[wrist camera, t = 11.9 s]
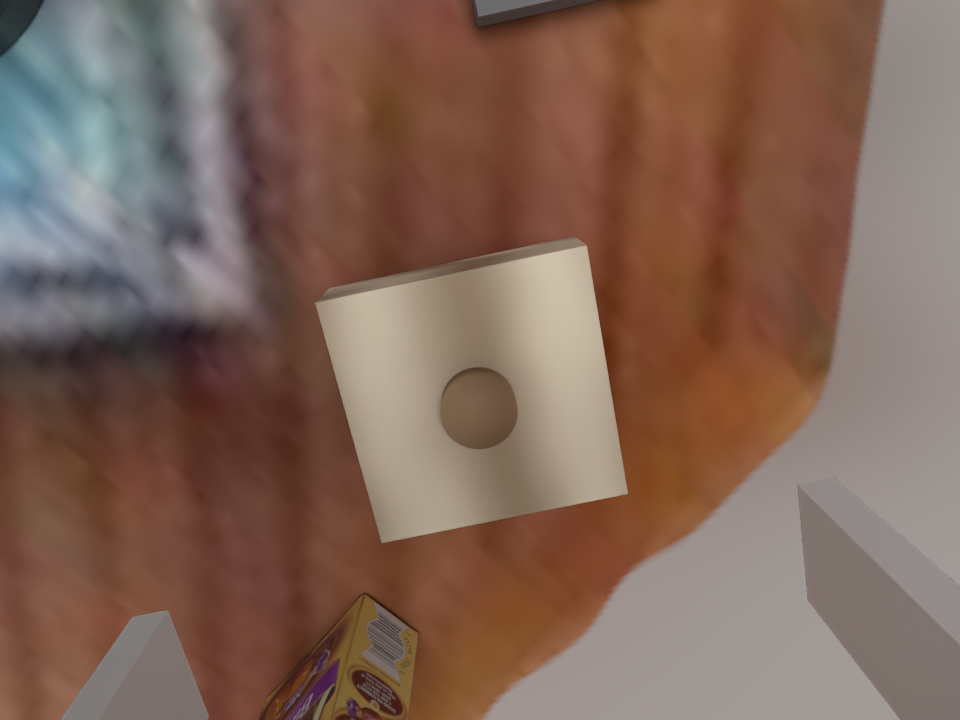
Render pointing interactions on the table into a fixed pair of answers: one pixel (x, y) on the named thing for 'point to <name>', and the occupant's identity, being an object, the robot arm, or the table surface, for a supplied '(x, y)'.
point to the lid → (476, 388)
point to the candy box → (352, 671)
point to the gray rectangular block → (516, 9)
